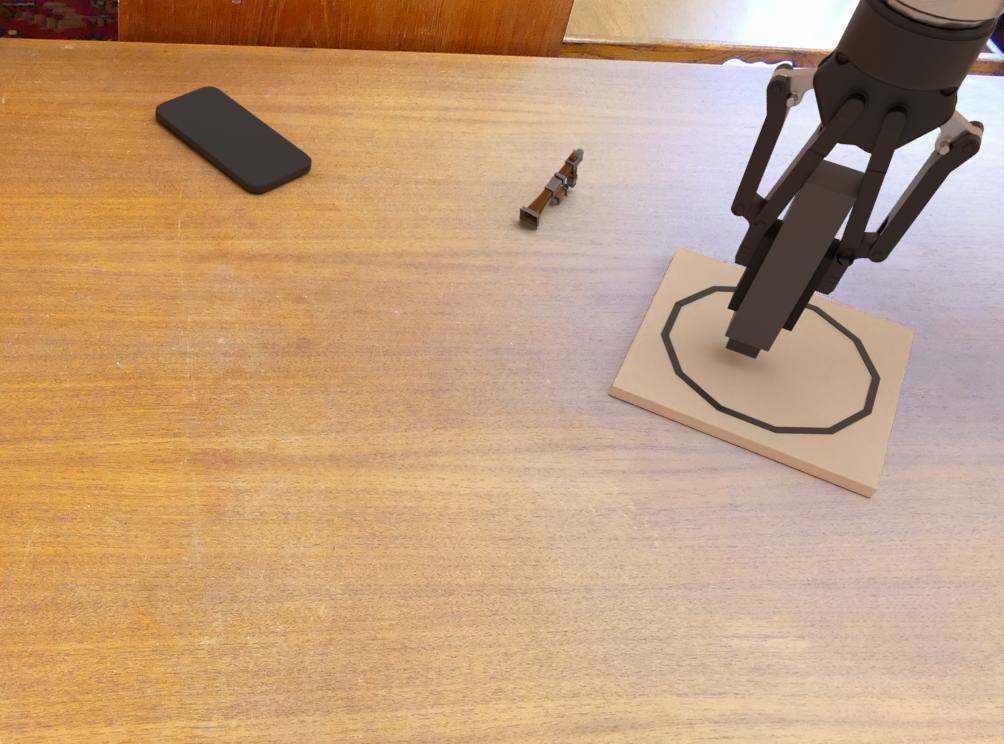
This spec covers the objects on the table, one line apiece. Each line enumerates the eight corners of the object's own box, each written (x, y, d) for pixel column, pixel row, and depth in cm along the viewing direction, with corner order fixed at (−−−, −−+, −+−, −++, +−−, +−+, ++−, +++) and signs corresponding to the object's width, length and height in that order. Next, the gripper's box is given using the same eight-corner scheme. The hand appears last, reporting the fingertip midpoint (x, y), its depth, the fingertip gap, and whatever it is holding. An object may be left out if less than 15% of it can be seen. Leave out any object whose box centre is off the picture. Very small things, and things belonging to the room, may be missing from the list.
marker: (769, 339, 87) (865, 172, 75) (760, 365, 85) (857, 198, 73) (727, 324, 88) (815, 156, 76) (716, 349, 86) (805, 181, 74)
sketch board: (909, 339, 92) (916, 328, 91) (870, 498, 81) (878, 488, 80) (674, 254, 96) (679, 244, 95) (607, 394, 85) (612, 384, 84)
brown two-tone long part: (587, 180, 100) (591, 147, 96) (535, 246, 99) (537, 215, 95) (570, 171, 101) (573, 138, 97) (518, 236, 100) (519, 206, 96)
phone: (255, 189, 96) (149, 107, 102) (254, 198, 97) (149, 115, 103) (317, 161, 99) (212, 82, 105) (316, 169, 100) (211, 91, 106)
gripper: (782, -17, 65) (643, 299, 84) (1080, 69, 61) (865, 380, 80) (806, -66, 69) (669, 245, 88) (1087, 12, 65) (881, 320, 84)
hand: (763, 309), depth 84 cm, fingers closed on marker, 3 cm apart
